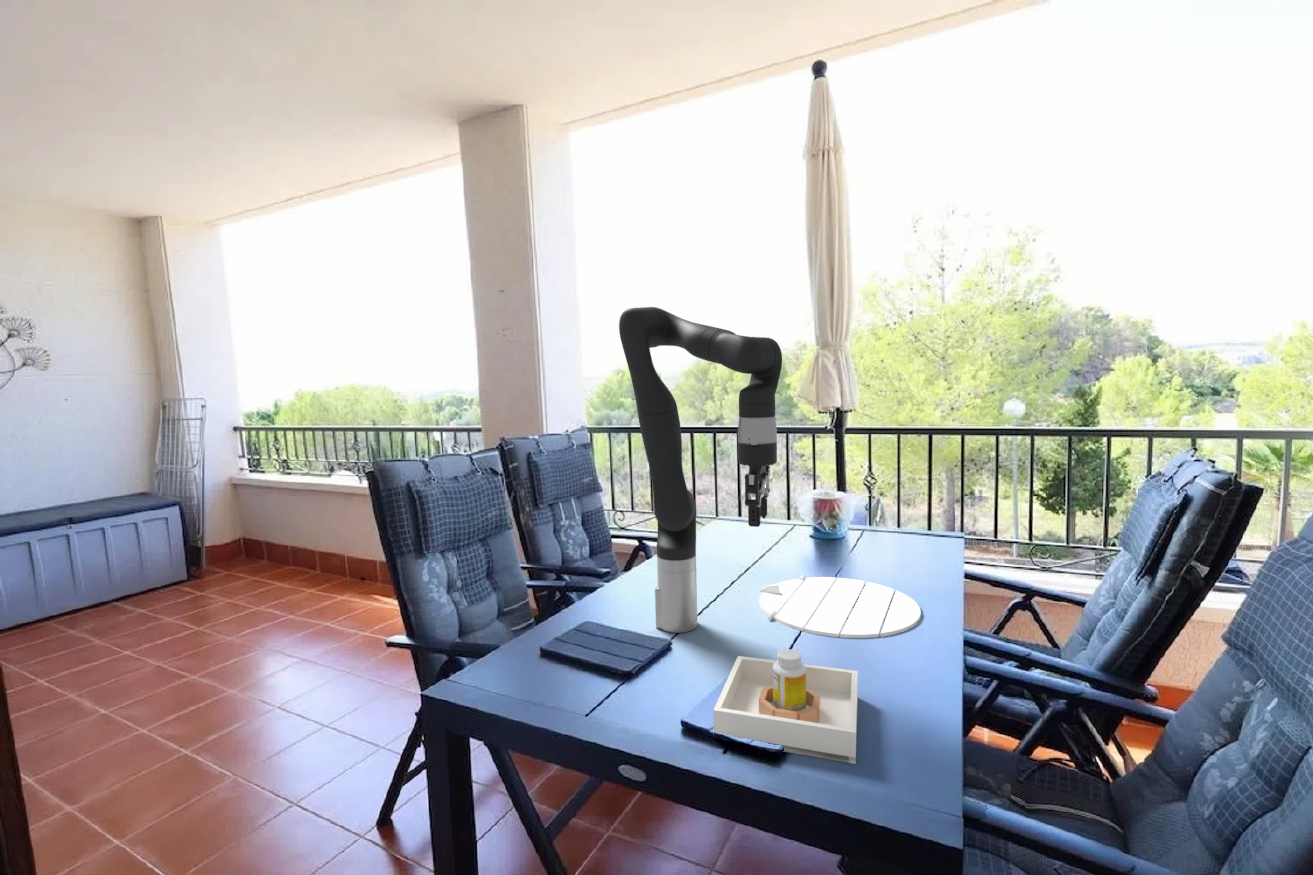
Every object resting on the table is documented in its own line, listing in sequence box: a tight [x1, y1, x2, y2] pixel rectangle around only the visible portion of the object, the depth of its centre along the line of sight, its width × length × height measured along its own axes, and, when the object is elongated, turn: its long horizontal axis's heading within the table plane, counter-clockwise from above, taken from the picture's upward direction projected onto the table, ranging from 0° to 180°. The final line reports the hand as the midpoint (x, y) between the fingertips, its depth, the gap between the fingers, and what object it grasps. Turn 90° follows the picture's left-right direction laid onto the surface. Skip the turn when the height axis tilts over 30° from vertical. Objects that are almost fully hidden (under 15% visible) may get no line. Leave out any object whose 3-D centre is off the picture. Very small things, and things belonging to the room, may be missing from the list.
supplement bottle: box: [773, 648, 806, 711], centre depth 104 cm, size 6×6×10 cm
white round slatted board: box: [758, 574, 922, 639], centre depth 154 cm, size 40×39×3 cm
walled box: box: [712, 655, 859, 765], centre depth 104 cm, size 22×20×5 cm
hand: (758, 520), depth 120 cm, fingers open, 8 cm apart
